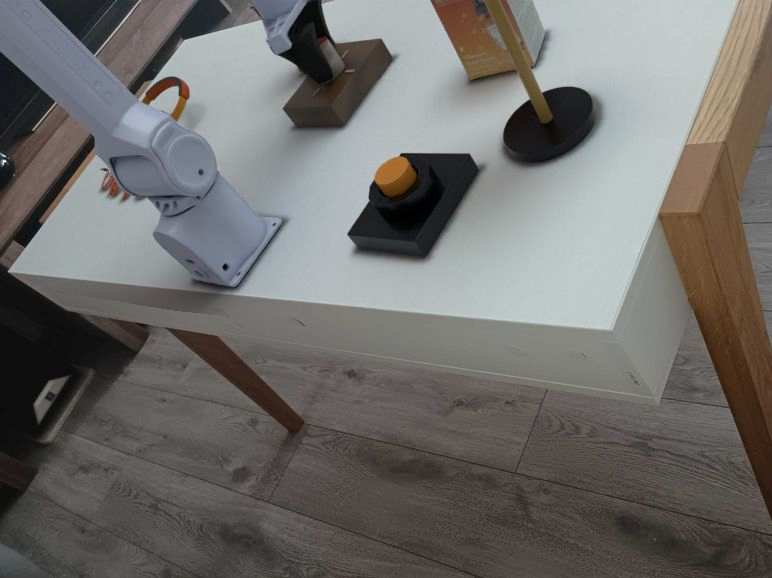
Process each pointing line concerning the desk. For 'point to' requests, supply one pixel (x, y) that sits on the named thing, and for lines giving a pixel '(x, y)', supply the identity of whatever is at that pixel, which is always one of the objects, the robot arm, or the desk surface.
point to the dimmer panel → (340, 86)
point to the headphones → (151, 96)
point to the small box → (489, 34)
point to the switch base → (415, 205)
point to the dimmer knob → (331, 57)
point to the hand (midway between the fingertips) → (328, 69)
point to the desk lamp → (541, 107)
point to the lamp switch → (395, 176)
